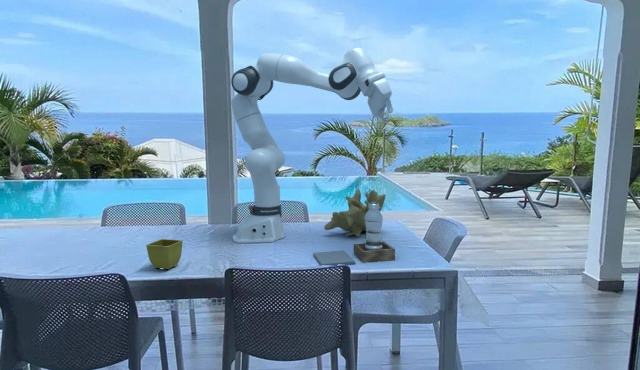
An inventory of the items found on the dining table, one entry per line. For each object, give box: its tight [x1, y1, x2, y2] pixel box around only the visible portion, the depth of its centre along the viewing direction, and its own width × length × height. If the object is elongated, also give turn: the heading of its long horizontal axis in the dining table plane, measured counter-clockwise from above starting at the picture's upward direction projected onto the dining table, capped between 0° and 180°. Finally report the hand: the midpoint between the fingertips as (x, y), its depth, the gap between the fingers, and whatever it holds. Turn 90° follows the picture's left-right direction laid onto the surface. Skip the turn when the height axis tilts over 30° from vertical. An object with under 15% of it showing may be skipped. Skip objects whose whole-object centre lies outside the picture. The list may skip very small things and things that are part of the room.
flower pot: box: [145, 238, 183, 270], centre depth 152 cm, size 9×9×9 cm
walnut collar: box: [353, 241, 396, 264], centre depth 161 cm, size 12×11×4 cm
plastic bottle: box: [365, 202, 384, 251], centre depth 160 cm, size 6×7×20 cm
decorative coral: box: [324, 188, 386, 238], centre depth 194 cm, size 26×22×25 cm
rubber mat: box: [312, 250, 356, 266], centre depth 159 cm, size 12×14×1 cm
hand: (389, 117), depth 163 cm, fingers open, 8 cm apart
